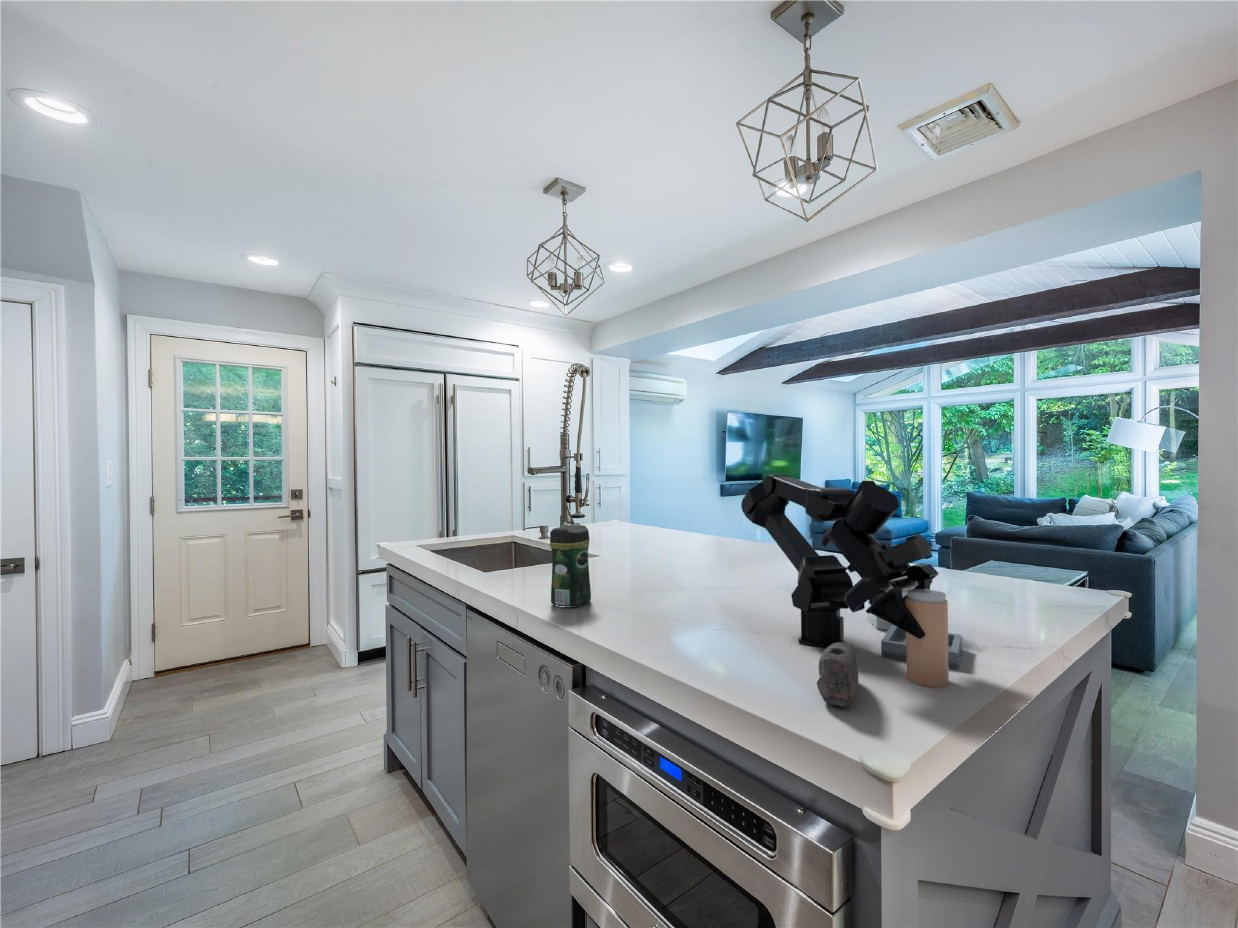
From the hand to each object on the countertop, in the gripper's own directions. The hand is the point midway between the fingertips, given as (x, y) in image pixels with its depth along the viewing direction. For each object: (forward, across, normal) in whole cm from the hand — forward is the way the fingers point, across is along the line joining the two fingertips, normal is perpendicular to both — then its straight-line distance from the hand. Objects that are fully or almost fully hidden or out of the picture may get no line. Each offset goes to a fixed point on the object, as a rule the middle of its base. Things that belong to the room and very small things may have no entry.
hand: (932, 633), depth 83 cm
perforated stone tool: (+1, -15, +10) cm, 17 cm away
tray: (0, +12, +10) cm, 15 cm away
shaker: (+4, 0, +6) cm, 7 cm away
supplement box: (-8, +23, +18) cm, 31 cm away
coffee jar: (-47, -18, +58) cm, 77 cm away
